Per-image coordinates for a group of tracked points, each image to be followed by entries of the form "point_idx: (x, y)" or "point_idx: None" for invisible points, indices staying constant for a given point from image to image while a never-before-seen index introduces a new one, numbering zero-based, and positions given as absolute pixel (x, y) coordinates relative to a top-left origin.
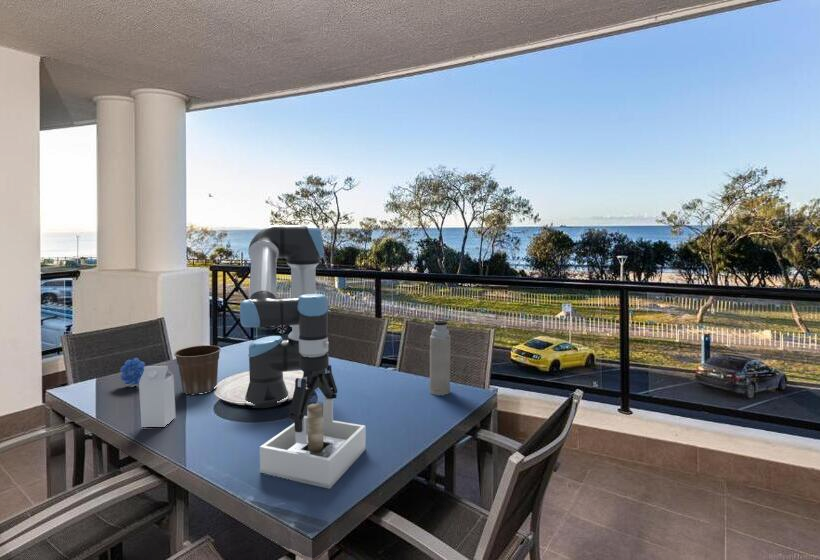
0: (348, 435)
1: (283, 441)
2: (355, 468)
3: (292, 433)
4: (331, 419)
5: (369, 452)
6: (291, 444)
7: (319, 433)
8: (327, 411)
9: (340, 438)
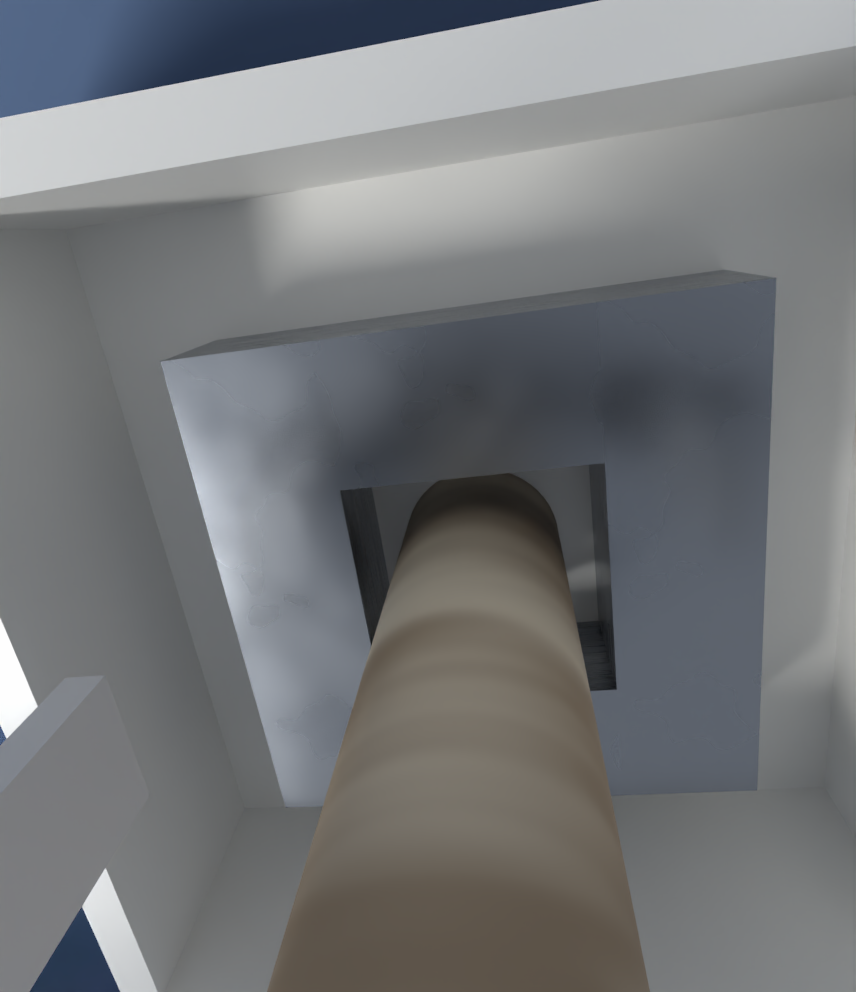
0: (49, 416)
1: None
2: (420, 35)
3: None
4: (78, 712)
5: None
6: None
7: (517, 627)
8: (18, 887)
9: (115, 503)
